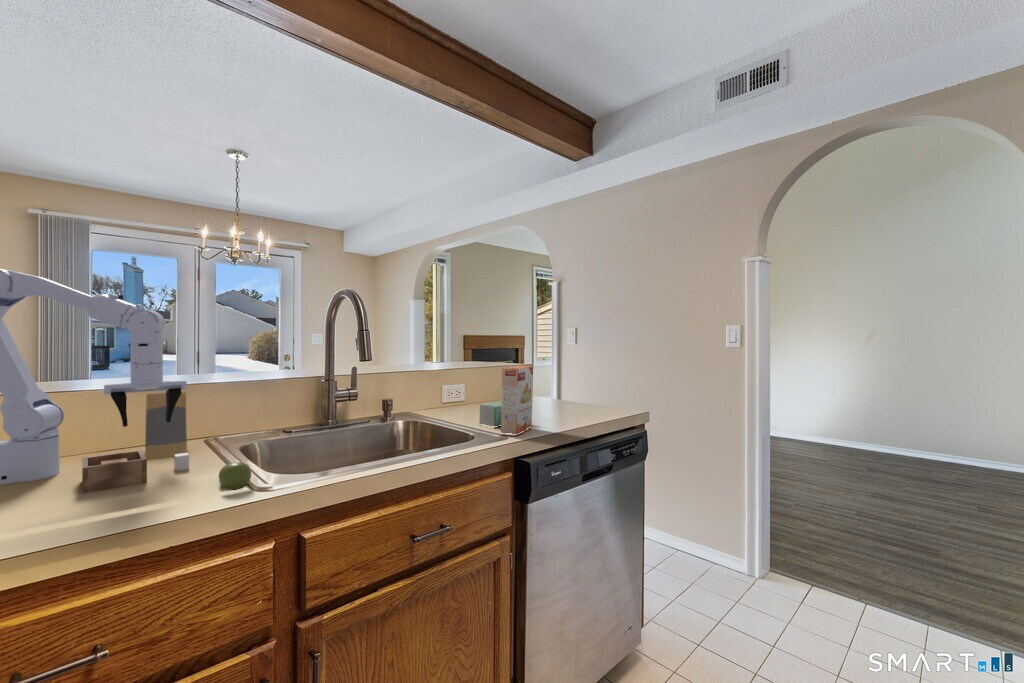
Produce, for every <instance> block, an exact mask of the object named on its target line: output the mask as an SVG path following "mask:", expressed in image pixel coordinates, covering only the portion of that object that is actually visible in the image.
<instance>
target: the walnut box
mask: <svg viewBox="0 0 1024 683" xmlns="http://www.w3.org/2000/svg"><path fill="white" fill-rule="evenodd" d="M123 458H127V461H124V462H116V463H109V464H102V465H101V461H108V460H116V459H123ZM147 461H148V460H147V459H146V457H145V452H144V450H143V449H140V450H137V449H136V450H131V451H123V452H117V453H116V452H115V453H108V454H99V455H92V456H84V457H82V458H81V462H82V465H81V470H82V471H81V475H82V476H81V478H82V483H81V484H82V485H81V486H82V488H81V489H82V494H86V493H92V492H98V491H105V490H111V489H116V488H123V487H129V486H133V485H134V486H135V485H141V484H145V483H147V482H148V470H147V469H148V464H147V463H148V462H147Z"/></svg>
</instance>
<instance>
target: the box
mask: <svg viewBox="0 0 1024 683" xmlns="http://www.w3.org/2000/svg"><path fill="white" fill-rule="evenodd" d="M501 403H502V401H500V402H498V401H497V402H492V403H485V404H483V403H482V404H480V405H479V425H480V424H485V425H489V426H499V425H501Z"/></svg>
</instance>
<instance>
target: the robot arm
mask: <svg viewBox="0 0 1024 683" xmlns="http://www.w3.org/2000/svg"><path fill="white" fill-rule="evenodd" d="M27 297H33V298H34V297H35V298H36V297H44V298H47V299H51V300H54V301H57V302H60V303H64V304H66V305H71V306H73V307H76V308H80V309H82V310H85V312H86V313H87V314H88V316H89V317H90V319H93V320H96V321H100V322H101V323H104V324H105V323H106V324H109V325H111V326H114V327H116V328H117V327H118V328H119V329H123V330H128V331H129V332H130V343H129V344H130V348H129V349H130V382H127V383H125V382H124V383H111V384H104V385H103V393H104V395H110V397H111V399H112V400H113V402H114V404H115V406H116V408H117V410H118V412H119V415H120V418H121V422H122V427H124V428H126V427H128V414H127V398H128V397H127V393H129V394H130V393H143V392H158V391H160V392H161V391H165V393H166V422H171V416H172V413H173V410H174V407H175V405H176V403H177V401H178V399H179V397H180V395H181V393H183V392H182V390H187V380H164V379H163V378H164V373H163V372H164V371H163V370H164V368H163V367H164V365H163V364H164V358H163V356H164V355H163V354H164V351H163V350H164V349H163V347H164V346H163V345H164V344H163V331H164V329H165V327H166V320H165V317H164V316H163V315H162V314H161V313H159V312H158V311H156V310H154V309H143V308H144V305H142V304H139V303H137V304H134V303H131V302H128V301H125V300H122V299H119V295H117V294H114V293H109V294H105V293H102V294H98V295H94V296H93V295H90V294H87V293H85V292H83V291H80V290H77V289H74V288H72V287H69V286H67V285H64V284H61V283H59V282H56V281H54V280H50V279H48V278H45V277H42V276H37V275H32V274H28V273H23V272H20V271H18V270H11V269H10V270H9V269H2V268H0V394H1V396H2V402H1V403H0V404H1V405H0V412H1V414H2V417H3V420H2V429H3V431H4V432H5V433H6V435H7V436H8V437H9V439H6V440H0V485H5V484H12V483H13V484H14V483H19V482H20V483H21V482H22V483H23V482H31V481H39V480H43V479H48V478H51V477H54V476H57V475H59V474H60V468H61V467H60V464H61V463H60V459H61V458H60V431H59V430H58V428H59V426H60V425H61V424H62V423H63V422H64V419H65V411H64V410H63V408H62V407H61V406H60V405H58V404H57V403H55V402H54V401H53V400H52V398H51V397H50V395H49V394H48V393H47V392H45V391H43V390H42V389H41V388H39V386H38V385H37V383H36V380H35V379H34V377H33V375H32V373H31V371H30V369H29V367H28V365H27V363H26V362H25V360H24V358H23V356H22V354H21V351H20V350H19V348H18V346H17V345H16V343H15V341H14V339H13V336H12V335H11V333H10V331H9V329H8V328H7V326H6V323H5V322H4V319H3V318H4V316H5V315H6V314H7V313H8V311H9V310H10V309H11V308H12V307H13V306H14V305H16V304H18V303H19V302H21V301H22V300H25V299H26V298H27Z"/></svg>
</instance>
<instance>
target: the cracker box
mask: <svg viewBox="0 0 1024 683" xmlns="http://www.w3.org/2000/svg"><path fill="white" fill-rule="evenodd" d="M501 373H502V374H501V402H502V403H501V427H500V433H501V432H502V433H512V434H518V433H520V432H522V431H524V430H526V429H527V428H529V427H531V426H532V425H533V423H532V422H533V419H532V418H533V392H534V391H533V390H534V389H533V388H534V387H533V386H534V384H533V383H534V367H533V366H531V365H530V366H529V365H516V366H511V367H510V366H509V367H503V368H502V369H501Z"/></svg>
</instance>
